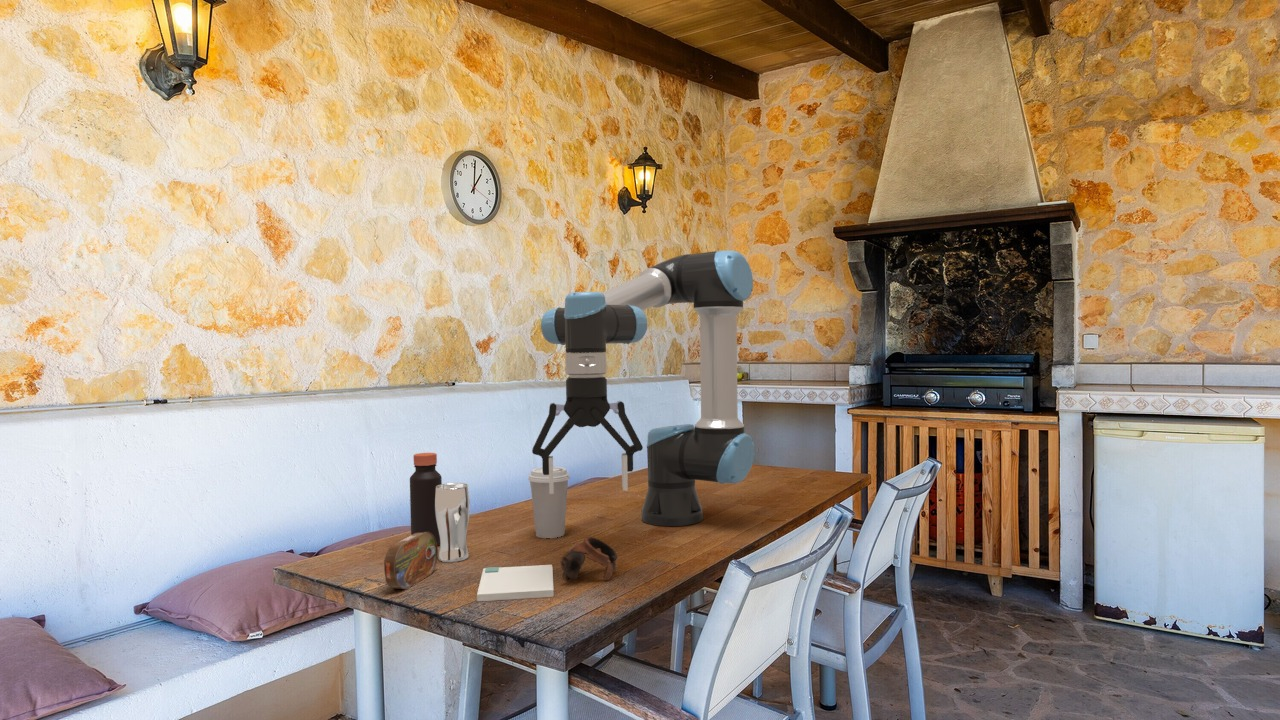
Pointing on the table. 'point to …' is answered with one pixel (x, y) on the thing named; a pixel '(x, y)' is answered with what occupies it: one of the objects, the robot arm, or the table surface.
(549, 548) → the table surface
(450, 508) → the beer glass
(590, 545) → the broken pottery vessel
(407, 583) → the tin
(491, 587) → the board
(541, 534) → the coffee cup
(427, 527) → the bottle
